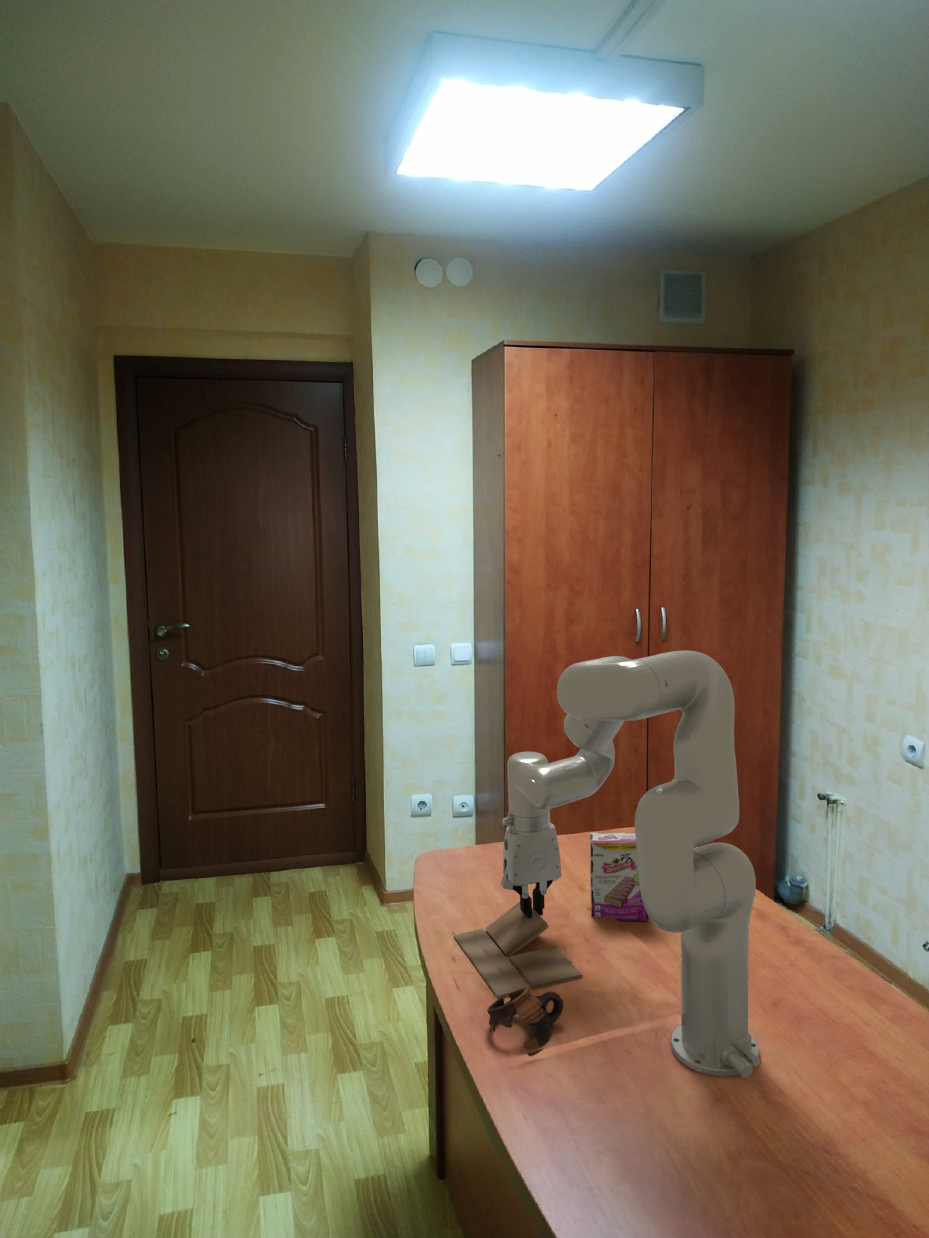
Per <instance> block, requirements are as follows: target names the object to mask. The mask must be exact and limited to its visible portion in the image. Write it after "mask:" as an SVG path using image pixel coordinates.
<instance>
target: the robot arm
mask: <svg viewBox="0 0 929 1238" xmlns="http://www.w3.org/2000/svg"><path fill="white" fill-rule="evenodd" d="M556 698H557V702H558V704H559V706H560V708H561V709H562V711H563V712H564V713H566V715H565V718H564V720H563V730H564V733H565V734H566V736H567V738H568V739H569V740H570V741H571V743H573V745H575V746H576V747H577V748H580V749H579V750H578V752H577V753H576V754H575V755H574V756H570V757H567V758H563V759H559V760H556V761H552V762H549V760H548V758H547V757H546V756H545V755H544V754H543V753H540V752H537V751H521V752H520V751H519V752H516V753H514V754H512V755H511V756H509V758H508V759H507V763H506V766H507V794H508V795H507V796H508V798H507V799H508V801H507V802H508V811H507V816H506V817H503V818H502V819H501V824H502V825H503V826H507V827H506V828H505V832H504V840H503V847H502V849H503V850H502V873H503V875H502V878H501V882H500V886H501V887H502V888H503V889H504V890H508V891H509V890H510V891H514V892H516V893H517V894H518V895H519V902H520V909H521V911H522V913H524V914H525V915H526V916H527V917H528V918H531V917H532V908H533V909H534V910H535V911H536V912H537V913H538V914H539V915H540V916H541V917H542V916H544V909H545V905H546V904H545V895H546V894H547V892H548V889H549V888H550V886H552V883H553V882H555V881H557V880H560V879H561V878H562V876H563V875H562V864H561V854H560V853H561V852H560V846H559V845H560V844H559V839H558V836H557V835H558V834H557V830H556V827H555V824H553V823H552V822H551V812H550V811H551V810H552V809H554V808H558V807H561V806H564V805H567V804H570V803H573V802H577V801H579V800H582V799H585V798H586V799H587V798H589V797H591V796H593V795H594V794H595V793H596V792H597V791H599V790H600V789H601V787H602V786H603V784H604V783H605V781H606V780H607V779H608V777H609V775H610V774H611V772H612V771H613V769H614V766H615V761H616V760H615V759H616V758H615V757H616V751H615V750H616V749H615V745H614V741H613V740H614V739H615V737H616V735H617V734H618V732H619V731H620V730H621V727H622V726H623V724H624V723H625V722H627V721H628V722H629V721H630V722H631V721H638V720H639V721H640V720H644V719H648V718H652V717H654V716H655V717H656V716H658V715H663V714H666V713H669V712H674V711H677V710H679V711H681V713H682V715H681V718H680V721H679V722H678V725H677V727H676V731H675V735H674V738H673V748H672V750H673V758H674V776H673V778H672V780H671V781H668V782H665V783H662V784H659V785H656V786H653V787H652V788H651V789H649V790H648V791H646V792H645V793H644V794H643V795H642V796H641V798H640V799H639V801H638V803H637V807H636V809H635V814H634V831H635V832H634V833H635V837H636V848H637V860H638V872H639V882H640V891H641V896H642V901H643V904H644V907H645V910H646V912H647V914H648V915H649V919H650V920H651V922H653V924H655V926H656V927H658V928H659V929H660V930H662V931H664V932H667V933H673V934H674V933H675V934H677V933H680V994H681V995H680V999H681V1000H680V1002H681V1005H680V1007H681V1008H680V1009H681V1012H680V1013H681V1014H680V1017H681V1023H680V1024H679V1025H678V1026H676V1027H675V1028H674V1029H673V1031H672V1033H671V1036H670V1046H671V1047H670V1048H671V1051H672V1053H673V1055H674V1056H675V1057H676V1058H677V1060H678V1061H680V1062H681V1063H682V1064H683V1065H684V1066H686V1067H688V1068H690V1069H691V1070H693V1071H696V1072H699V1073H702V1074H705V1075H709V1076H714V1077H733V1076H738V1075H740V1076H741V1077H742V1078H744V1079H747V1078H750V1077H751V1076H752V1074H753V1071H754V1070H753V1068H754V1067H758V1066H759V1065H760V1064H761V1058H760V1046H759V1043H758V1041H757V1040H756V1038H755V1037H754V1036H753V1034H752V1033H751V1032H749V943H750V942H749V937H750V924H751V916H752V911H753V905H754V901H755V897H756V896H755V895H756V887H757V885H756V884H757V883H756V881H757V880H756V874H755V869H754V867H753V866H754V865H753V864H752V862H751V860H750V859H749V857H748V855H746V853H745V852H743V850H741V849H740V848H738V846H735V845H734V844H730V843H728V842H727V843H726V842H714V841H716V840H717V839H721V838H722V837H725V836H726V835H728V834H730V833H732V832H733V831H734V829H736V827H738V826H737V825H738V824H739V820H740V798H739V785H738V783H739V782H738V772H737V769H738V768H737V759H736V749H735V714H736V713H735V709H736V708H735V707H736V706H735V696H734V690H733V686H732V683H731V681H730V678H729V677H728V675H727V673H726V672H725V670H724V669H723V667H722V666H721V665H720V663H718V661H716V660H715V659H714V658H712V657H711V656H710V655H708V654H706V653H703V652H699V651H695V650H687V649H685V650H675V651H669V652H662V653H659V654H655V655H650V656H645V657H641V658H635V659H631V658H628V657H626V656H622V655H621V656H620V655H611V656H605V657H600V658H595V659H590V660H584V661H580V662H577V663H573V664H571V665H569V666H568V667H567V668H565V670H564V671H563V672H562V673H561V675H560V676H559V679H558V681H557V686H556ZM711 842H712V843H711ZM707 843H708V844H707ZM533 884H534V888H533V889H532V892H531V893H532V897H531V896H530V892H529V885H533Z"/></svg>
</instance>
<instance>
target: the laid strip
mask: <svg viewBox="0 0 929 1238" xmlns="http://www.w3.org/2000/svg"><path fill="white" fill-rule="evenodd" d="M453 939H454V940H455V941H456V942H457V944H458V946H459V947H460V948H461V950H462V951H463V953H464V954H465V956H467V958H468V960H469V961H470V962H471V964H472V965H473V966H474V967H475V969H476V970H477V972H478V973H479V975H480V976H481V977H482V979H483V981H484V982H485V983H486V985H487V986H488V988H489V989H490V990H491V992H492V993H493V994H494V995H495V997H496V999H497V1000H498V999H500V998H503V999H504V998H506V997H509V993H511V992H514V991H516V990H519V989H522V988H528V989H529V991H530V992H531V986H530V985H528V982H527V981H526V980H525V979H524V977H523V976H522V975H521V974H520V972H519V971H517V970H516V967H515V966H514V965H512V962H511V961H509V959H508V957H507V956H506V955H505V954H504V952H503V951H502V950H501V949H500V947H499V946H497V944H496V942H495V941H494V940H493V939H492V937H491V936H490V935H489V934H488V932H487V931H486V930H484V928H478V929H475V930H471V931H465V932H461V933H456V934H454V935H453Z"/></svg>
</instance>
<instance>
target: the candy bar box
mask: <svg viewBox="0 0 929 1238" xmlns="http://www.w3.org/2000/svg"><path fill="white" fill-rule="evenodd" d="M589 859H590V860H589V862H590V863H589V865H590V869H589V870H590V871H589V874H590V875H589V876H590V914H591V917H592V918H613V919H614V920H616V921H617V922H649V921H650V920H649V919H650V917H649V915H648V914H647V912H646V910H645V907H644V904H643V901H642V896H641V891H640V882H639V872H638V860H637V848H636V837H635V832H589Z"/></svg>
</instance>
